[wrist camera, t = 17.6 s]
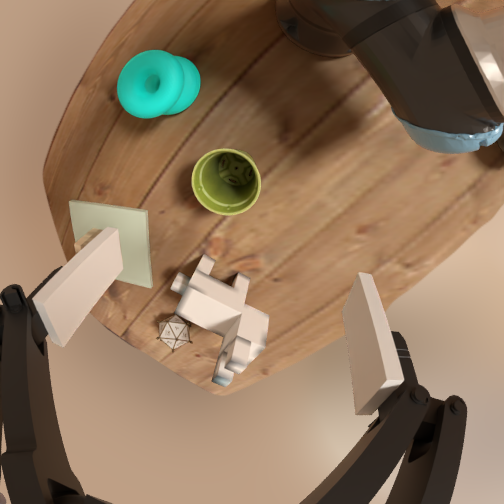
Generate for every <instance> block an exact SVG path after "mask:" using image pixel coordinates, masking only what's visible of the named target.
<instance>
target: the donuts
mask: <svg viewBox="0 0 504 504" xmlns="http://www.w3.org/2000/svg"><path fill="white" fill-rule="evenodd" d="M200 85H201V79H200V74H199V72H198V69H197V68H196V66H195V65H194V64H193V63H192V62H191V61H189V60H188V59H186V58H183V57H180V56H173V55H172V54H170V53H168V52H165V51H162V50H148V51H144V52H142V53H139V54H138V55H136V56H134V57H133V58H132V59H131V60H130V61H129V62H128V63H127V64H126V65H125V66H124V68H123V69H122V71H121V73H120V76H119V79H118V83H117V94H118V98H119V101H120V103H121V105H122V106H123V108H124V109H125V110H126V111H127V112H128V113H130V114H131V115H133V116H135V117H139V118H154V117H158V116H160V115H162V114H164V115H172V114H176V113H179V112H182V111H183V110H185V109H187V108H188V107H189V106H190V105H191V104H192V103H193V102H194V101H195V99H196V97H197V95H198V93H199V90H200Z"/></svg>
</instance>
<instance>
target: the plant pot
mask: <svg viewBox="0 0 504 504" xmlns="http://www.w3.org/2000/svg"><path fill="white" fill-rule="evenodd" d="M223 160H225V162H224V165H223V167H222V161H223ZM235 167H238V169H237V170H236V169H235ZM251 169H252V174H251V176H249V173H250V171H251ZM229 179H232V180H234V181H237V182H236V183H234V182H231V181H229ZM192 188H193V191H194V194H195V196H196V198H197V199H198V201H199V202H200V203H201V204H202V205H203V206H204V207H205V208H207V209H208V210H210V211H212V212H214V213H217V214H221V215H236V214H239V213H242V212H244V211H246V210H248V209H249V208H250V207H251V206H252V205H253V204H254V203H255V202H256V200H257V198H258V196H259V193H260V189H261V178H260V174H259V171H258V169H257V167H256V165H255V162H254V160H253V158H252V157H251V156H250V155H249V154H248V153H246V152H245V151H242V150H233V149H217V150H213V151H211V152H209V153H207V154H205V155H204V156H203V157H201V158H200V159H199V161H198V162H197V163H196V165H195V167H194V170H193V173H192Z"/></svg>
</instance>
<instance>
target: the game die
mask: <svg viewBox="0 0 504 504" xmlns="http://www.w3.org/2000/svg"><path fill="white" fill-rule="evenodd" d="M156 321H157V323H159V337H157V338H156V339H157V340H158V339H159V338H160V341H163V342H164V343H165V344H166V345H168V346H169V347H170V348H171V349H172V353H173V352H174V349H176V348H178V347H180V346H182V345H184V344H186V343H188V342H190V343H193V342H192V341H190V336H189V327H191V325H188V324H189V323H190V322H187V323H185V322H184V321H183V320H182V319H181V318H180V317H178V316H177V315H176V314H175V315H173V316H171V317H169V318H167V319H165V320H163V321H161V322H159V321H158V320H156Z"/></svg>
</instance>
